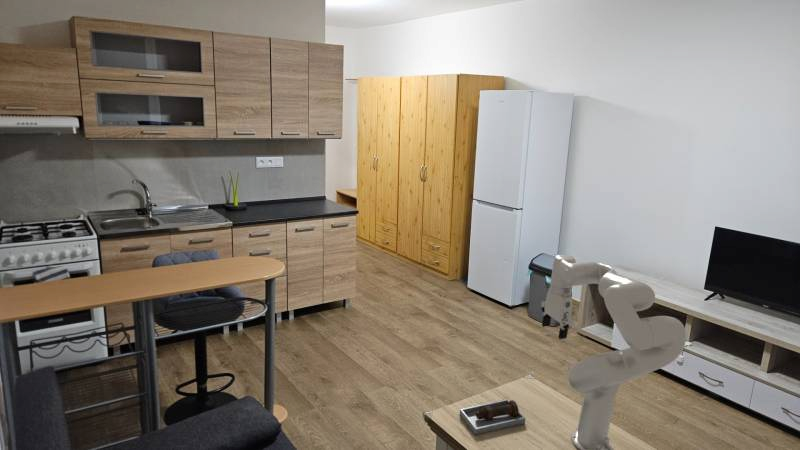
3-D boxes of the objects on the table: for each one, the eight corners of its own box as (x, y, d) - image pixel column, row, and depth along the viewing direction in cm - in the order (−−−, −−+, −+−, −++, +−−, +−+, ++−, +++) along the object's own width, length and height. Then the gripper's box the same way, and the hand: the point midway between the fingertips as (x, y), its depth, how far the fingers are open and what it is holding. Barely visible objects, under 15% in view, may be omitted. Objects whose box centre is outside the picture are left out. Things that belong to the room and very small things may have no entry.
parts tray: (524, 423, 185) (525, 417, 185) (475, 435, 178) (475, 429, 177) (507, 404, 195) (507, 399, 195) (459, 415, 188) (460, 409, 187)
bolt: (475, 422, 186) (513, 415, 190) (480, 424, 181) (519, 417, 186) (472, 405, 187) (510, 399, 191) (478, 407, 183) (517, 400, 187)
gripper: (585, 297, 181) (577, 342, 186) (554, 279, 197) (547, 320, 202) (567, 300, 179) (560, 344, 184) (537, 280, 194) (531, 322, 199)
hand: (553, 332), depth 193 cm, fingers open, 9 cm apart
